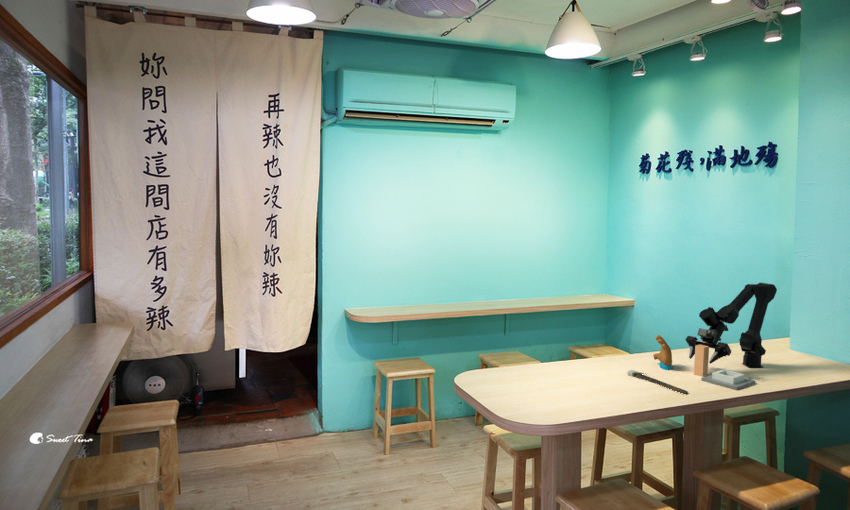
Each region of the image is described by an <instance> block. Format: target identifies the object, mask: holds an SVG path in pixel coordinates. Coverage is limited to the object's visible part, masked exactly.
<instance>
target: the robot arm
mask: <svg viewBox="0 0 850 510" xmlns="http://www.w3.org/2000/svg"><path fill="white" fill-rule="evenodd" d="M777 289H778V288H777V287H776V285H775V284H773V283H767V282H758V283H756V284H755V283H751V284H750V283H747V284H745V285H744V288H743V289H742V290H741V291H739V293H738V294H737V295H736V296H735V298H734V299H733V300H732V301H730V303H728V304H727V305H723V306H722V307H721V308H720V309H718V311H715V309H714V307H712V306H708V307H707V308H706V309H703V310H701V311H700V312H699V313H698V314H699V315H698V316H699V318H700V320H702V321H703V323H704V324H705V325H706V326H707V327H709V328H708V329H706V328H698V331H697V336H699V337H700V340H698V338H697V337H696V336H692V335H687V336H686V338H684V340H685V342H686V343H687V345H688V346H689V357H688V358H689V359H693V357H695V346H697V345H705V346H709V349H713V350H714V352H713V353H712V356H711V357H710V358H709V360H708V364H713V363H714V362H716V361H717V360H719V359H721V358H724V357H727V356H731V354H732V349H731V348H730V345H729V344H728V343H726V342H722V338H721V337H722V335H723V333H724V332H729V327H728V325H727V324H729V325H732V324H734V323H735V322H736V321H737V319H738V318H739V314H740V311H741V310H742V309H743V308H744V307H745V305H746V304H748V303H749V301H750V300H751V299H752V298H753V297H754V298H755V304H754V308H753V311H752V313H751V318H750V321H749V325H748V328H747V330H746V331H745V332H741V334H740V338H739V340H738V341H739V345H740V349H741V352H744V354H743V355H742V363H741V365H743V366H745V367H747V368H753V369H754V368H755V369H756V368H757V369H758V368H760V369H762V368H764V366H762V356H765V355H766V351H767V350H766V349H765V347H764V346H763V345H762V340H763V339H762V335H761V330H762V327H763V323H764V320H765V317H766V313H767V309H768V306H769V304H770V302H772V301H773V300H774V298H775V297H776V294H777V292H778V290H777ZM725 323H726V324H725Z"/></svg>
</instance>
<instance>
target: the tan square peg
mask: <svg viewBox="0 0 850 510" xmlns="http://www.w3.org/2000/svg"><path fill="white" fill-rule="evenodd" d="M709 354H710V348H709V346H705V345H697V346H695V354H694V368H693V375H694V376H699V377H701V378H703V377H706V376H709V360H710V358H709V356H710V355H709Z"/></svg>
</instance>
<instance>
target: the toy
mask: <svg viewBox="0 0 850 510" xmlns="http://www.w3.org/2000/svg"><path fill="white" fill-rule="evenodd" d="M655 340H656V341H657V343H658V344H659V345H660V348H661V349H660V351H659V353H654V354H653V360H655V361H656V360H658V361H659V363H658V364H659V368H660V369H662V370H664V371H671V370H672V369H673V368H672V367H673V355H672V349H671V347H670V345H669V344H668V343H667V342H666V341H665V339H664V338H663V337H662V336H661V335H659V334H657V335H656V336H655Z"/></svg>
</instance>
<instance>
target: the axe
mask: <svg viewBox="0 0 850 510" xmlns="http://www.w3.org/2000/svg"><path fill="white" fill-rule="evenodd" d="M644 373H645V372H641V371H637V370H634V369H630V370H628V371H627V376H629V377H631V376H635V377H634V378H638V379H640V378H641V380H643V379H645V380H644V381H647V380H648V382H650V381H651V383H653V382H654V384H656V383H657V384H656V385H658V384H659V385H658V386H661V385H662V386H661V387H663V386H664V387H663V388H665V387H666V389H668V388H669V389H668V390H670V389H672V390H671V391H673V390H674V391H673V392H675V391H677V392H676V393H678V392H680V393H679V394H681V393H683V394H682V395H684V394H686V395H688V394H687V393H688V392H689V391H688V390H686V389H683V388H679V387H677V386H675V385H672V384H670V383H667V382H664V381H662V380H659V379H655V378H654V377H651V376H648V375H647V374H648V373H645V374H646V375H642V374H644Z"/></svg>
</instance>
